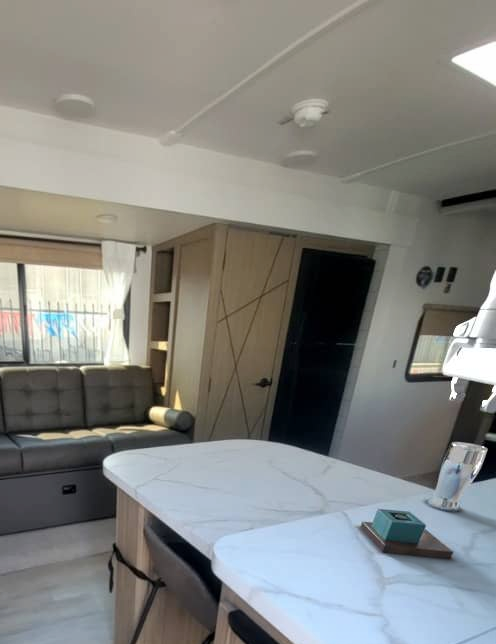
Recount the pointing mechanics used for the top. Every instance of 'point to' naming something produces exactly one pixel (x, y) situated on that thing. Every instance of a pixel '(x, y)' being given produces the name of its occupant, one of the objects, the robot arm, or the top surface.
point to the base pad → (424, 548)
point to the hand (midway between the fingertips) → (470, 406)
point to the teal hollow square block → (398, 526)
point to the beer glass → (457, 474)
